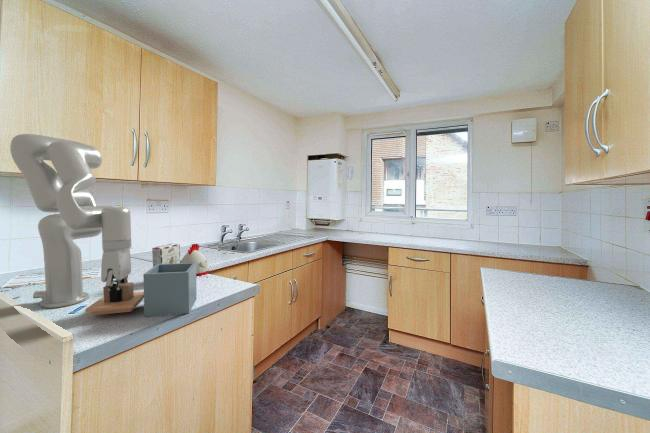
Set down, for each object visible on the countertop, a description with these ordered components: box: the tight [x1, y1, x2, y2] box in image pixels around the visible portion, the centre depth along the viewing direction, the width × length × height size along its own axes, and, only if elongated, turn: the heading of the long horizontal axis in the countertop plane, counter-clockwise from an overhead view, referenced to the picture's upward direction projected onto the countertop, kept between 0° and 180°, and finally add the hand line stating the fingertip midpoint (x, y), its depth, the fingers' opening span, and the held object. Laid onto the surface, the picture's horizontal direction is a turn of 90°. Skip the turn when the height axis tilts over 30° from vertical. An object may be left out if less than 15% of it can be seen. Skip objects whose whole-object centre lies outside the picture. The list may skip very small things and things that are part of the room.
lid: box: [84, 282, 144, 316], centre depth 89 cm, size 13×13×8 cm
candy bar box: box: [151, 243, 181, 268], centre depth 121 cm, size 11×5×16 cm, turn 168°
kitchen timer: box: [180, 243, 210, 278], centre depth 134 cm, size 14×14×15 cm
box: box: [143, 263, 197, 318], centre depth 93 cm, size 13×13×14 cm
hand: (118, 298), depth 89 cm, fingers closed on lid, 3 cm apart
